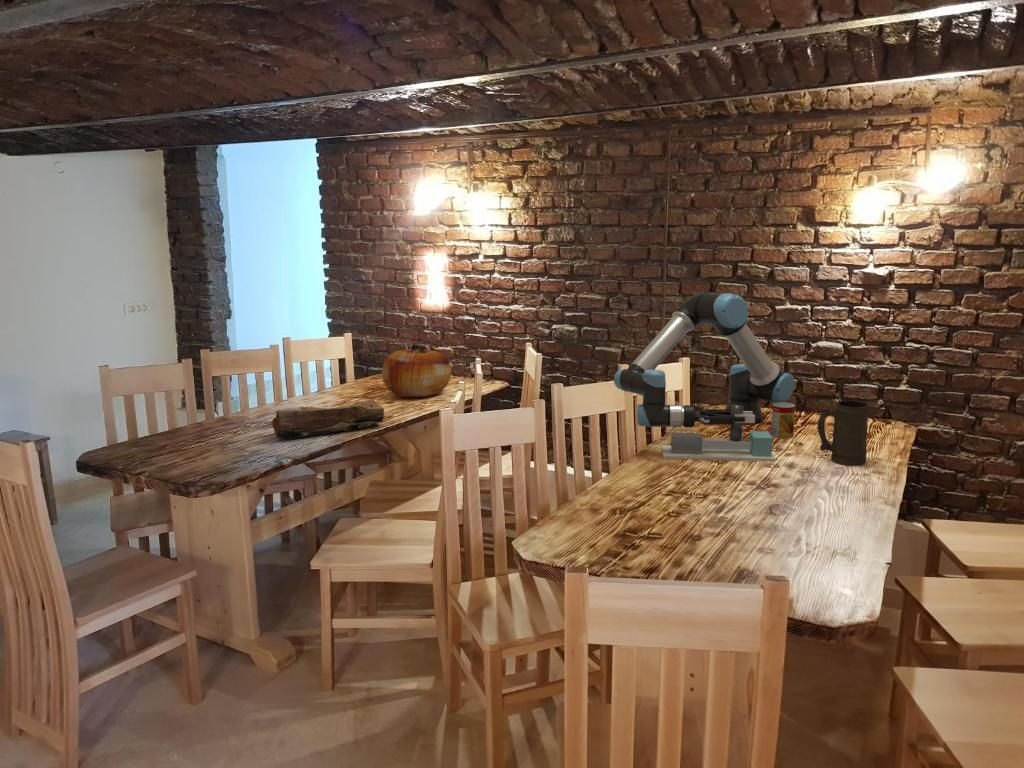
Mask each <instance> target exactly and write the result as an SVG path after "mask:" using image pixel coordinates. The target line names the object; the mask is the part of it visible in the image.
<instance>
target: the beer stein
mask: <svg viewBox="0 0 1024 768" xmlns="http://www.w3.org/2000/svg"><path fill="white" fill-rule="evenodd" d="M869 407H870V406H869V404H868V403H866V402H863V401H858V400H842V401H837V403H836V405H835V408H834V409H830V408H828V407H822V408H821V413H820V416H819V418H818V420H817V433H818V435H819V439H820V440H821V444H820V446H819V449H820V451H821V452H823V451H829V452H830V453H831V456H830V460H831V461H832V462H833V463H836V464H837V465H841V466H842V465H843V466H847V467H858V466H859V467H860V466H864V465H866V463H867V454H868V453H867V452H868V451H867V444H868V443H867V440H868V417H869V416H868V415H869V412H870V408H869ZM828 417H833V418H834V422H833V433H832V443H829V442H828V439H827V435H826V431H825V423H826V419H827V418H828Z"/></svg>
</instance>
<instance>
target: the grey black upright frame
mask: <svg viewBox="0 0 1024 768" xmlns="http://www.w3.org/2000/svg"><path fill="white" fill-rule="evenodd" d="M731 415H734V416H735V415H743V405H739V404H734V405H731ZM743 426H744V425H743V423H735V425H730V426H729V438H723V437H722V438H719V437H718V438H717V437H716V438H715V437H714V438H712V437H702V449H727V450H752V442H753V440H752V439H750V438H743Z"/></svg>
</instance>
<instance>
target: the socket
mask: <svg viewBox="0 0 1024 768" xmlns="http://www.w3.org/2000/svg"><path fill="white" fill-rule="evenodd" d="M749 439H752V440H753V442H752V450H750V452H751V454H752V456H761V457H771V454H773V452H772V450H773V437H772V436H771V433H770V432H769V431H760V430H759V431H752V430H751V431H749Z"/></svg>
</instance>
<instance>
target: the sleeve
mask: <svg viewBox="0 0 1024 768" xmlns="http://www.w3.org/2000/svg"><path fill="white" fill-rule="evenodd" d="M702 438H703V435H702V433H701V432H680V431H679V432H678V431H677V432H675V431H674V432H672V431H671V439H670V446H671V451H672V453H684V454H702Z"/></svg>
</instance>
